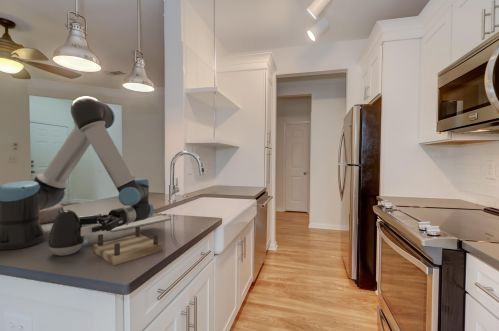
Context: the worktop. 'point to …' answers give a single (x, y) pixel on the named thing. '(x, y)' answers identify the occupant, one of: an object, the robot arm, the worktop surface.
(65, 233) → the dark grey bell shape
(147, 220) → the baseboard
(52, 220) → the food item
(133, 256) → the oak stand
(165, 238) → the worktop surface
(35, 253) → the worktop surface
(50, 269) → the worktop surface
